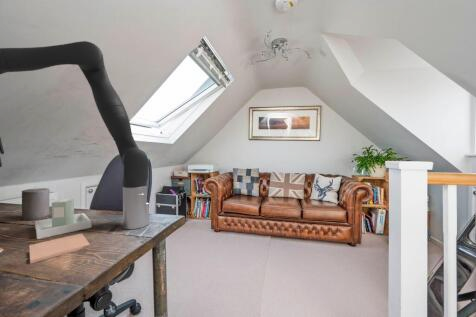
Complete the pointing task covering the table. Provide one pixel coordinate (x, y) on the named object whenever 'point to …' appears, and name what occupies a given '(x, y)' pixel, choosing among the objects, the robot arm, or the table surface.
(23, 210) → the pillar candle
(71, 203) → the sage box
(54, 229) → the grey bin
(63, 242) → the terracotta tile
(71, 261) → the table surface
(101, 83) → the robot arm
